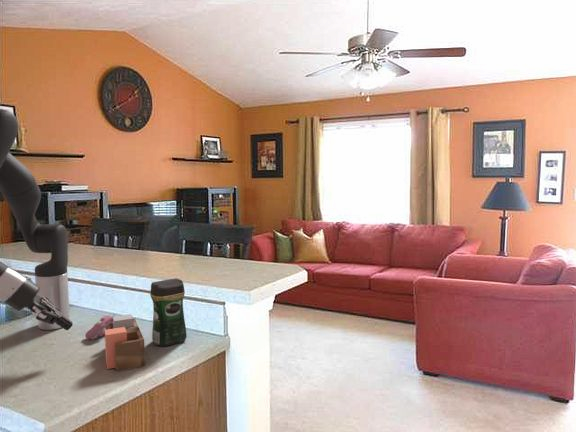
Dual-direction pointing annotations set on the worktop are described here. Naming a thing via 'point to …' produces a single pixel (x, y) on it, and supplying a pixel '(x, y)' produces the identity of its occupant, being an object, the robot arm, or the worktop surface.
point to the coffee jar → (168, 312)
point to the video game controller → (100, 327)
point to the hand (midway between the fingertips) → (70, 326)
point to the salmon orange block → (113, 344)
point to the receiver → (130, 349)
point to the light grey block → (123, 321)
